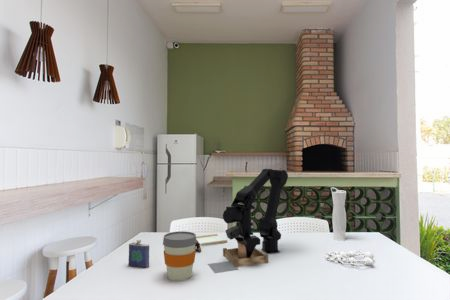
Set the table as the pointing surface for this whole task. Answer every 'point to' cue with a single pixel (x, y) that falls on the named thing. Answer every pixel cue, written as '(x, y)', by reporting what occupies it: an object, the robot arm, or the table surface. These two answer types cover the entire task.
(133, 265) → the flask
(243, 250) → the terracotta pot
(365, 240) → the table surface
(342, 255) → the tangled rod sculpture
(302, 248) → the table surface
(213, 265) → the slate mat
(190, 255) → the reusable coffee cup
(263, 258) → the brown wooden tray
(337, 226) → the white water bottle
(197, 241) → the brown creature figurine
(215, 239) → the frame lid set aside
